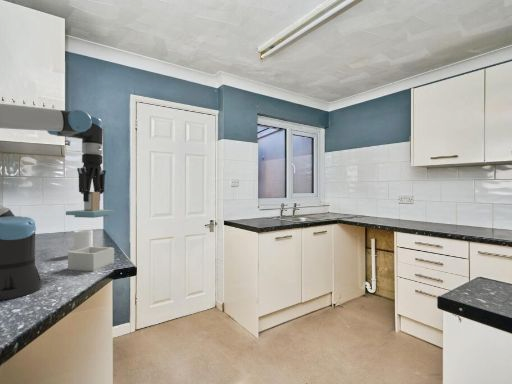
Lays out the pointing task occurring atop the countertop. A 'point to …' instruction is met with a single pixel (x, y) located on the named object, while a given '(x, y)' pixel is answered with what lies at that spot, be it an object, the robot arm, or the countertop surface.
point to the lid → (92, 208)
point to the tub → (90, 258)
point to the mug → (81, 239)
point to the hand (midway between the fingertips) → (91, 209)
